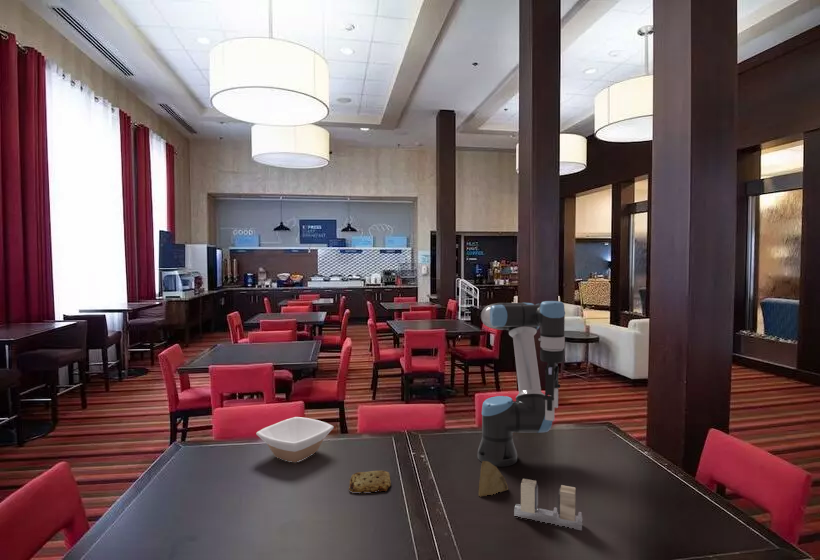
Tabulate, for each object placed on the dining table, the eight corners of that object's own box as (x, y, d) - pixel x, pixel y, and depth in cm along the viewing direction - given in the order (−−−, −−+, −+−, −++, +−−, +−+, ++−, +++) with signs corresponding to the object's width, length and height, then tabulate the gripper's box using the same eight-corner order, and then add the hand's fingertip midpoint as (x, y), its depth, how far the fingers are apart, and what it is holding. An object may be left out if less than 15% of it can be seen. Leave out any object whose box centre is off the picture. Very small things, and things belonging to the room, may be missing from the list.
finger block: (559, 511, 136) (559, 484, 136) (575, 514, 134) (575, 487, 134) (558, 518, 132) (558, 491, 132) (574, 521, 131) (574, 494, 130)
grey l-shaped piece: (513, 517, 137) (514, 483, 137) (516, 510, 141) (516, 477, 140) (581, 531, 130) (582, 495, 129) (582, 523, 134) (582, 488, 133)
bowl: (339, 450, 187) (338, 425, 186) (293, 474, 166) (293, 446, 165) (297, 438, 199) (297, 414, 199) (250, 459, 179) (250, 433, 178)
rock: (509, 477, 158) (480, 470, 160) (512, 464, 152) (482, 458, 154) (506, 508, 150) (475, 501, 152) (509, 496, 144) (477, 489, 146)
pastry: (404, 484, 159) (404, 475, 159) (367, 503, 147) (367, 494, 147) (371, 468, 171) (371, 460, 171) (334, 485, 159) (333, 477, 158)
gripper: (544, 341, 162) (544, 401, 163) (535, 355, 139) (535, 424, 140) (566, 343, 159) (566, 403, 160) (561, 357, 136) (560, 427, 137)
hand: (551, 413), depth 150 cm, fingers open, 13 cm apart
